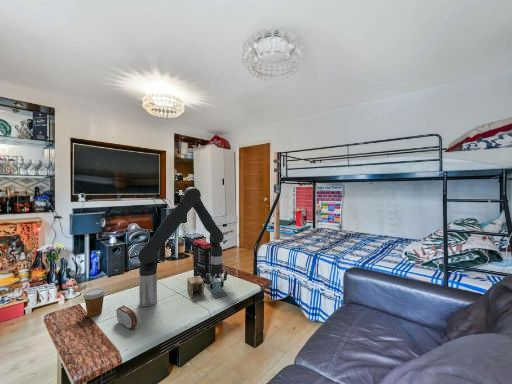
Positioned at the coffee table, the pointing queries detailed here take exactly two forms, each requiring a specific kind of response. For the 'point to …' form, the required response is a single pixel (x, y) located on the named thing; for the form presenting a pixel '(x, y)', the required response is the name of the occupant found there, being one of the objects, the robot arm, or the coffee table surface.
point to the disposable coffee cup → (94, 301)
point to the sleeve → (195, 285)
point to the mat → (218, 294)
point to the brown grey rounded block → (126, 317)
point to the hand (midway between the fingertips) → (216, 288)
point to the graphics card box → (201, 258)
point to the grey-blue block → (216, 285)
